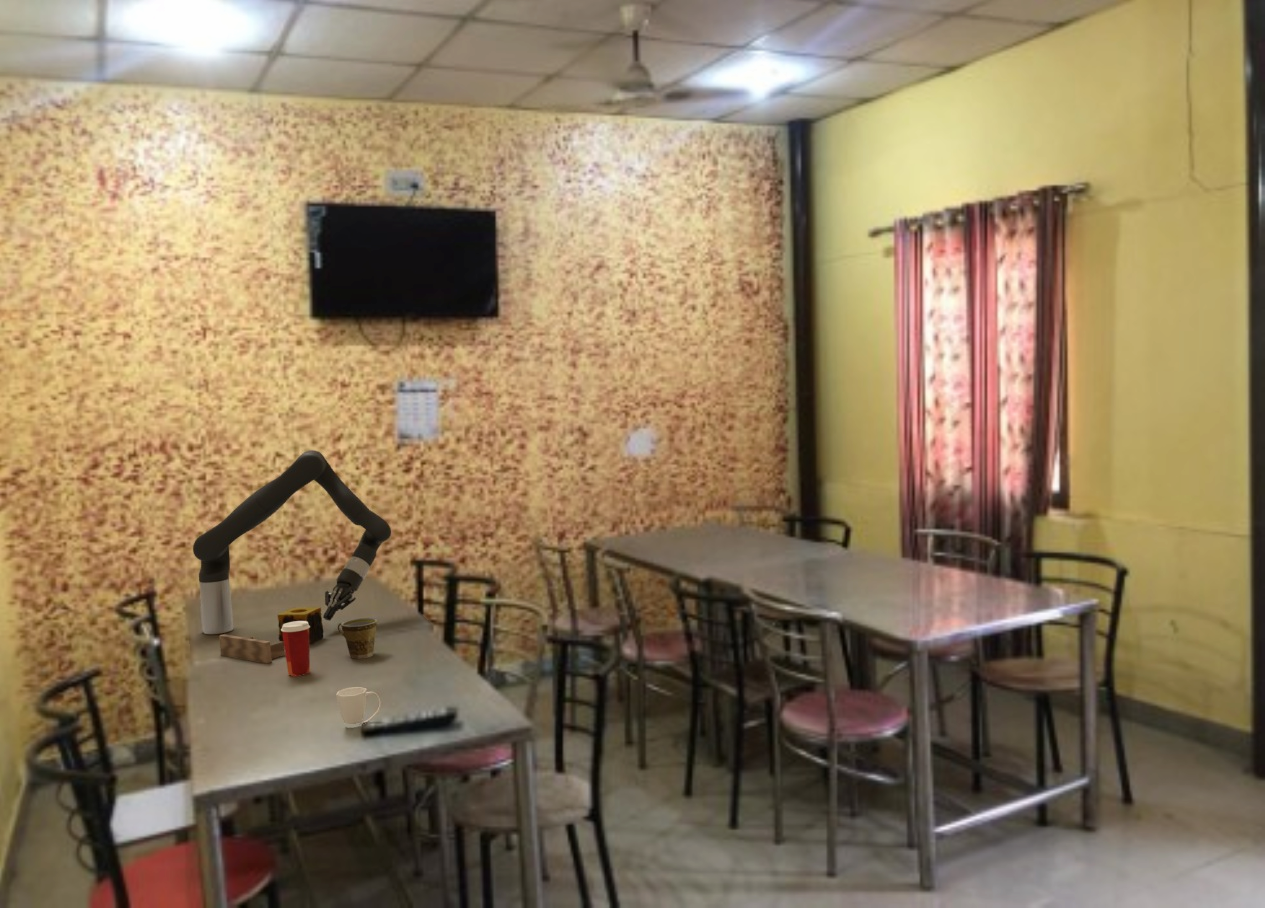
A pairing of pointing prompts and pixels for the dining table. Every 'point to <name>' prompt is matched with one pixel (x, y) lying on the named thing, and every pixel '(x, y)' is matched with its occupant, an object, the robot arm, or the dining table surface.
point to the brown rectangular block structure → (250, 648)
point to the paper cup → (297, 647)
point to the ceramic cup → (359, 636)
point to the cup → (354, 704)
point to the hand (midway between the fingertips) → (326, 618)
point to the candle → (304, 614)
